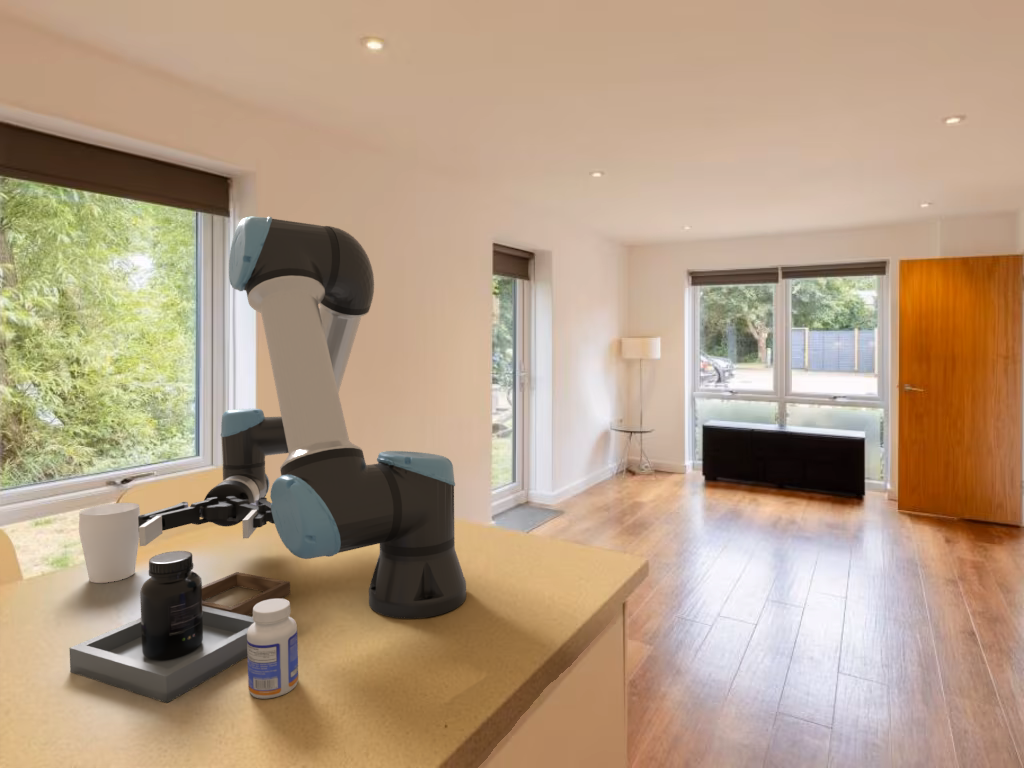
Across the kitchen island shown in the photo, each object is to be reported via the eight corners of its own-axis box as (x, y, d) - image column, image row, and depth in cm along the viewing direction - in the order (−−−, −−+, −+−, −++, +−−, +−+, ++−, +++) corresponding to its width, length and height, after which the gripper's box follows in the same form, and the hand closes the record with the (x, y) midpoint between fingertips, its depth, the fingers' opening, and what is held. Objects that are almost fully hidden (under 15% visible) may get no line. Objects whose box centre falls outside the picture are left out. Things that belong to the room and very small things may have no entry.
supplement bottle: (130, 654, 75) (127, 560, 74) (182, 632, 81) (179, 544, 80) (163, 667, 71) (160, 569, 71) (215, 643, 78) (213, 552, 77)
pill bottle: (283, 669, 73) (281, 591, 72) (307, 685, 69) (306, 603, 69) (239, 689, 69) (237, 606, 68) (263, 706, 65) (260, 619, 65)
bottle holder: (290, 594, 96) (290, 581, 96) (230, 623, 85) (230, 610, 85) (237, 583, 101) (236, 572, 101) (174, 610, 90) (174, 597, 90)
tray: (270, 642, 80) (270, 620, 80) (167, 702, 66) (166, 676, 66) (181, 621, 86) (180, 601, 86) (70, 671, 73) (69, 647, 72)
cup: (154, 568, 108) (152, 502, 108) (116, 587, 100) (114, 516, 99) (108, 566, 109) (106, 502, 109) (67, 585, 100) (64, 515, 100)
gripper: (306, 516, 109) (287, 551, 88) (155, 526, 104) (98, 566, 83) (304, 475, 109) (285, 501, 88) (154, 483, 103) (95, 512, 83)
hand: (194, 532), depth 85 cm, fingers open, 13 cm apart
